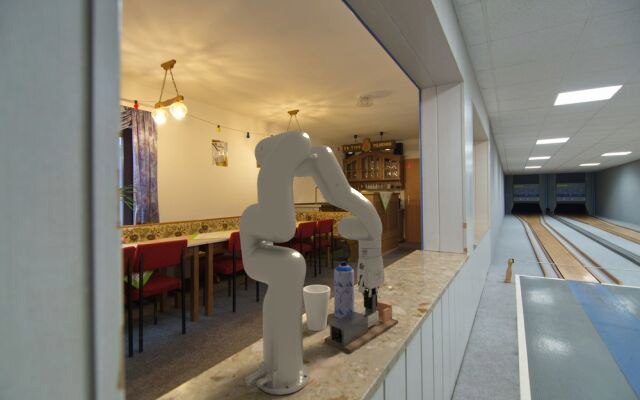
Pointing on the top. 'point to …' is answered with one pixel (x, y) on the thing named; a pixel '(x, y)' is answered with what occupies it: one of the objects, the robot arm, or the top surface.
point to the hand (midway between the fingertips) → (370, 306)
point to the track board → (365, 336)
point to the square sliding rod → (371, 313)
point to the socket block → (384, 311)
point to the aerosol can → (343, 290)
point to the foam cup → (316, 306)
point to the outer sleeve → (348, 328)
